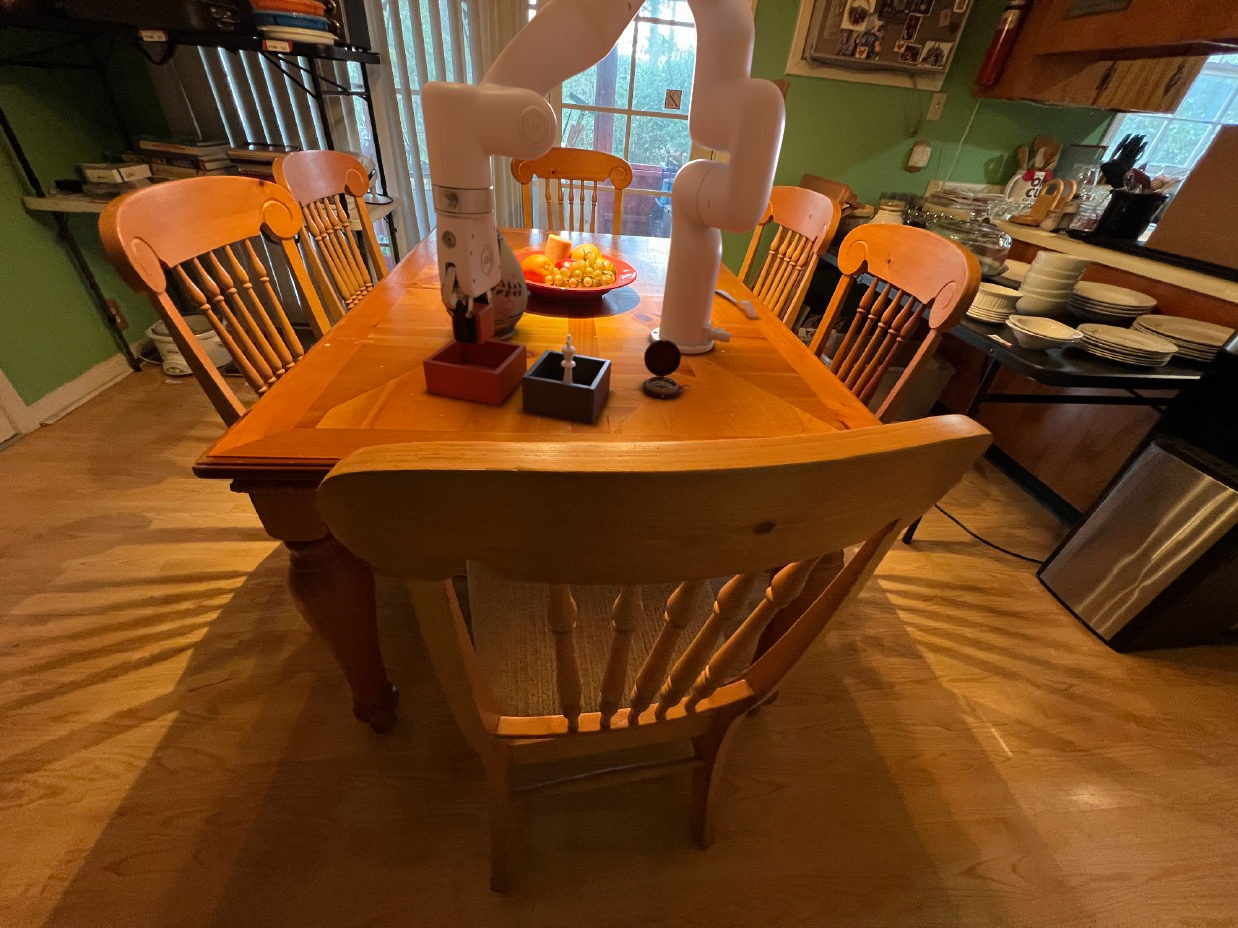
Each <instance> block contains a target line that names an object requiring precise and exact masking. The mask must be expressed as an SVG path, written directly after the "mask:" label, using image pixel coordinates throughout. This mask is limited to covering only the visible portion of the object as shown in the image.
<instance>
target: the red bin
mask: <svg viewBox="0 0 1238 928" xmlns="http://www.w3.org/2000/svg"><path fill="white" fill-rule="evenodd" d="M527 356H528V355H527V345H526V344H521V343H515V342H509V341H503V340H500V341H497V340H491V339H488V340H487V341H485V342H484V343H483V344H478V343H475V344H469V343H463V342H458V341H456V340H455V339H454V338H452V339H451V340H450V341H448V342H447V343H446V344H444V345H442V346H441V347H440V348H439V349H438V350H436V351H434V352H433V353H431V355H429V356H428V357H426V358H425V359H423V361H422V366H423V374H424V378H425V386H426V392H427V393H430V394H434V395H440V396H446V397H452V398H458V399H463V400H468V401H472V402H478V403H483V404H490V405H495V406H501V404H502V403H503V401H504V400H505V399H507V397H508V396H509V395H510V394H511V393H512V391H513V390H514V389H515V388H516V387H517V386H518V385H519V384H520V383H521V382H522V376H523V375H524V374H525V373H526V372H527V371H528V360H527V359H528V358H527Z"/></svg>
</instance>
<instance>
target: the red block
mask: <svg viewBox="0 0 1238 928" xmlns="http://www.w3.org/2000/svg"><path fill="white" fill-rule="evenodd" d="M462 303H463V304H464V305H465V301H464V302H462ZM472 316H475V319H476V332H477V343H478V344H483V343H484V342H485V341H487V340H488V339H489V338H490V337H491V336H493V335H494V334H495V333H494V315H493V305H489V304H482V303H476V302H473V311H472ZM450 318H451V326H452V336H453V339H455V332H454V323H453V315H451V316H450Z"/></svg>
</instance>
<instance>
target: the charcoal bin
mask: <svg viewBox="0 0 1238 928" xmlns="http://www.w3.org/2000/svg"><path fill="white" fill-rule="evenodd" d="M564 360H565V359H564V355H563V352H562V351H557V350H553V349H552V350H551V349H545V350H544V352H543V353H542V354H541V355H540V356H539V357H538V358H537V359H536V360H535V361H534V363H533V364H532V365H531V366H530V367H529V368H528V369H527V372H526V373H525V374H524V375H523V376H522V380H521V393H522V394H521V397H522V399H521V400H522V412H524V413H529V414H533V415H534V414H535V415H539V416H545V417H550V418H555V419H561V420H566V421H567V420H568V421H571V422H572V421H573V422H576V423H577V422H578V423H582V424H583V423H584V424H589V425H593V424H594V422H595V420H596V418H597V417H598V415H599V413H600V411H601V409H602V407H603V405H604V403H605V401H606V400H607V397H608V395H609V393H610V388H611V387H610V386H611V373H612V360H611V359H607V358H600V357H594V356H588V355H582V354H576V353H574V356H573V359H572V361H574V362H575V364H576V365H575V366H574V367H572V379H573V383H567V382H563V379H564V372H565V367H563V366H562V365H561V363H562V361H564Z"/></svg>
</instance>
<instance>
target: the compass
mask: <svg viewBox="0 0 1238 928" xmlns="http://www.w3.org/2000/svg"><path fill="white" fill-rule="evenodd" d="M681 359H682V353H680V351H679V348H678V347H677V346H676V344H675V343H673V342H672V341H670V340H666V339H662V340H657V341H654V342H651V343H650V344H649V345H648V346H647V348H646V349H645V351H644V355H643V361H644V366H645V368H646V369H647V371H648V372H649V373H651V374H652V375H654V376H651V377H649V378H647V379H645V380H644V381H643V382H642V390H643V392H645V393H646V394H647V395H649V396H650V397H654V398H658V399H672V398H675V397H677V396H678V395H679V394H680V392H681V390H683V391H686V392H687V391H691V390H692V387H691V386H690V385H688V384H681V385H679V383H677V382H676V381H675V380H674V379H672V378H670V377H668V376H670V375H672V374H673V373H675V372H676V371H677V370H678V369H679V367H680V365H681ZM685 387H688V388H689V389H685Z"/></svg>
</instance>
